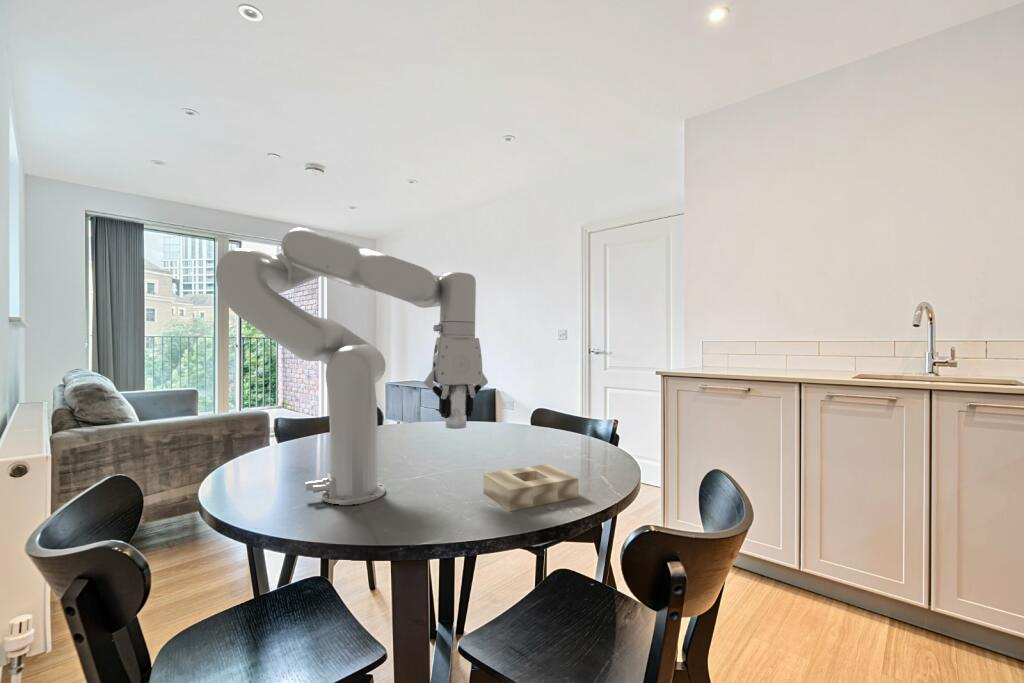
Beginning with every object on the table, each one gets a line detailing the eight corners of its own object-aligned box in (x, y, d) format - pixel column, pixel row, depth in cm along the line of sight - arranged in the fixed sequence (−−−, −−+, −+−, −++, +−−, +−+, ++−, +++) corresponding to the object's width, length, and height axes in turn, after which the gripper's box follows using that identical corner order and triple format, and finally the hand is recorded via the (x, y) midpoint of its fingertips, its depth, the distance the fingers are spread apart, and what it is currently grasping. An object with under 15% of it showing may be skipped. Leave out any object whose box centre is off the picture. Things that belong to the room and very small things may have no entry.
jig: (509, 511, 85) (509, 490, 85) (483, 492, 96) (483, 473, 96) (578, 497, 93) (578, 477, 93) (547, 481, 103) (547, 463, 103)
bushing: (449, 429, 93) (450, 386, 93) (442, 425, 97) (443, 384, 97) (469, 427, 95) (470, 385, 95) (461, 424, 99) (462, 383, 99)
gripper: (424, 329, 89) (422, 422, 89) (500, 332, 97) (499, 416, 97) (413, 330, 96) (412, 416, 96) (486, 332, 103) (484, 411, 103)
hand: (456, 415), depth 96 cm, fingers closed on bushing, 4 cm apart
